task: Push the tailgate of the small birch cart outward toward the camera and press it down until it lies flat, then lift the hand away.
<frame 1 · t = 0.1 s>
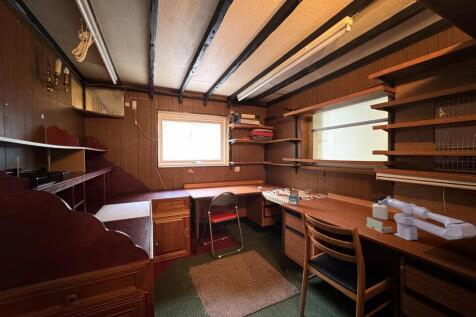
hand: (377, 198, 141), 22 cm above the table, tool horizontal, fingers open, 7 cm apart
tailgate: (374, 223, 135), point 4 cm above the table, hinge at 0.0°
photo printer: (380, 218, 156), on the table
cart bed: (378, 228, 135), on the table
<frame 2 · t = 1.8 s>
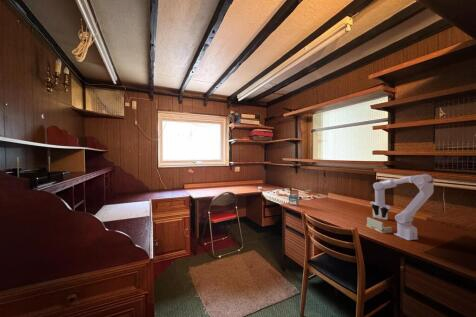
hand: (380, 216, 135), 9 cm above the table, tool pointing down, fingers open, 5 cm apart
nothing on the table moved.
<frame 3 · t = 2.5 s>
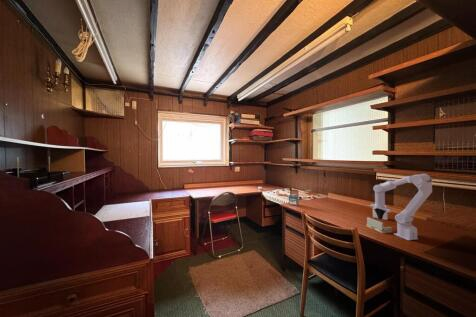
hand: (380, 218, 135), 7 cm above the table, tool pointing down, fingers closed
nothing on the table moved.
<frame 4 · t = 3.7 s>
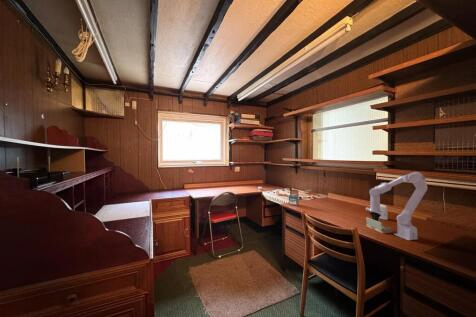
hand: (375, 222, 135), 5 cm above the table, tool pointing down, fingers closed, pressing on tailgate
tailgate: (374, 223, 134), point 4 cm above the table, hinge at 9.6°, touching gripper
everything else where it was.
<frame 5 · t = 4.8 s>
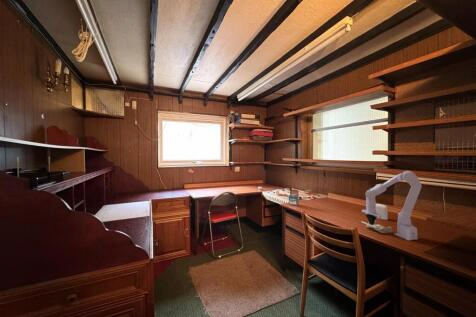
hand: (371, 224, 134), 4 cm above the table, tool pointing down, fingers closed, pressing on tailgate
tailgate: (371, 225, 134), point 3 cm above the table, hinge at 65.4°, touching gripper
everything else where it was.
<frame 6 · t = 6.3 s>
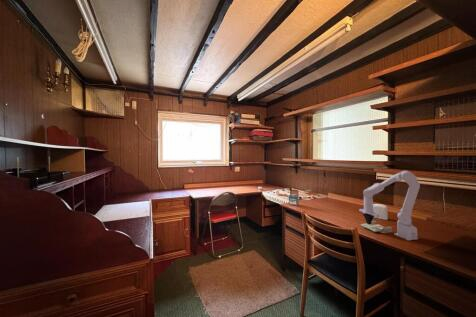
hand: (368, 224, 134), 5 cm above the table, tool pointing down, fingers closed
tailgate: (370, 227, 134), point 2 cm above the table, hinge at 91.1°
everything else where it was.
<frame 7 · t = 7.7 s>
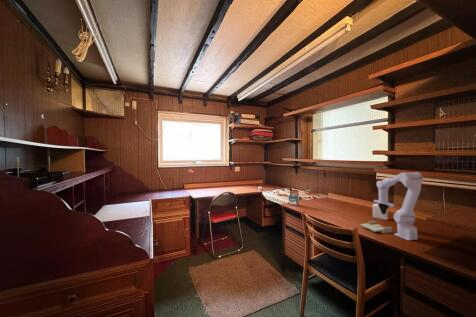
hand: (383, 213, 141), 9 cm above the table, tool pointing down, fingers closed
nothing on the table moved.
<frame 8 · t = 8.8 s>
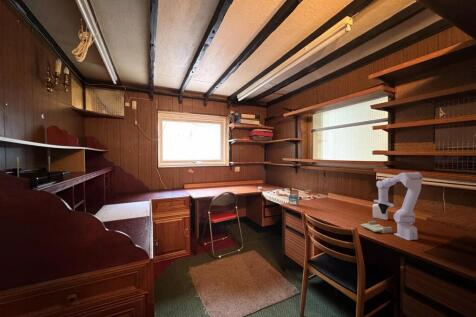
hand: (383, 213, 141), 9 cm above the table, tool pointing down, fingers closed
nothing on the table moved.
at the end: tailgate at +91° (first picture: +0°); photo printer moved 0.3 cm from its start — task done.
